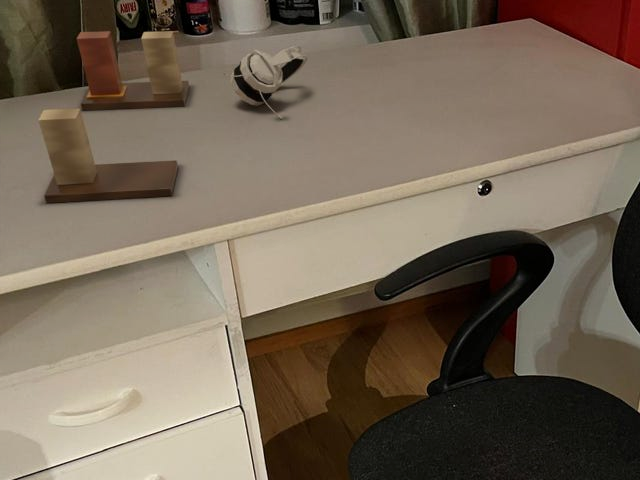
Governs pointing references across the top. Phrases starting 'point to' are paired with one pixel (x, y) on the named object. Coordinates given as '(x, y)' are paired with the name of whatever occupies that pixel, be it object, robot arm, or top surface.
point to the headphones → (264, 74)
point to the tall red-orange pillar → (100, 63)
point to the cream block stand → (95, 166)
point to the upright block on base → (163, 80)
